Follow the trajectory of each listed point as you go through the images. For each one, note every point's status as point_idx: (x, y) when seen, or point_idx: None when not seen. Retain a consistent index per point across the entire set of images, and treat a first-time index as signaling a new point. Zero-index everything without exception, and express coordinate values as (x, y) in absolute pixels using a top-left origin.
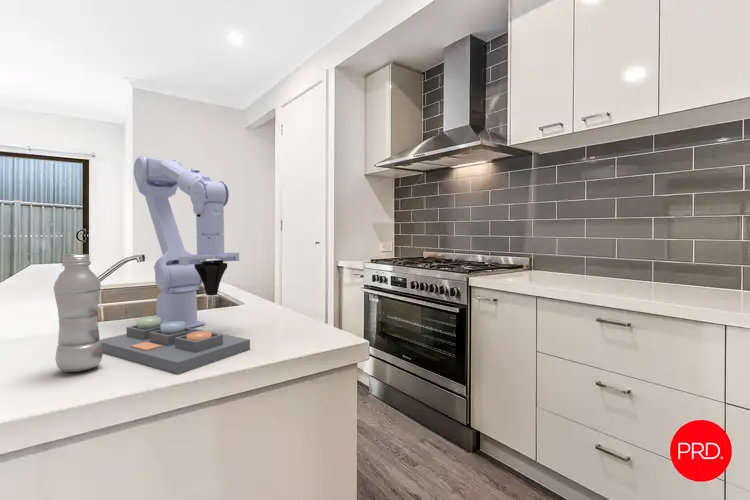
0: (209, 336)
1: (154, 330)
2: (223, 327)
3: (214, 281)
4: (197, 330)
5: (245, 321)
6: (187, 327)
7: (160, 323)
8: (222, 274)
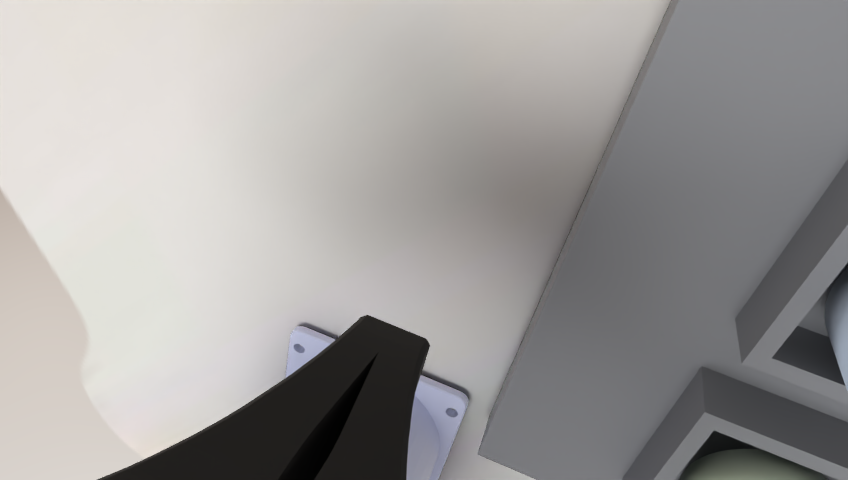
0: None
1: (840, 454)
2: (299, 201)
3: (353, 453)
4: (596, 245)
5: (135, 142)
6: (530, 340)
7: (739, 474)
8: (160, 464)
